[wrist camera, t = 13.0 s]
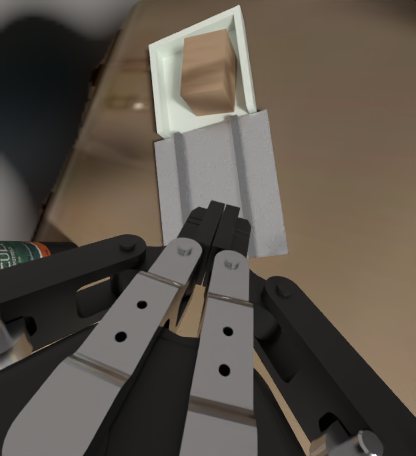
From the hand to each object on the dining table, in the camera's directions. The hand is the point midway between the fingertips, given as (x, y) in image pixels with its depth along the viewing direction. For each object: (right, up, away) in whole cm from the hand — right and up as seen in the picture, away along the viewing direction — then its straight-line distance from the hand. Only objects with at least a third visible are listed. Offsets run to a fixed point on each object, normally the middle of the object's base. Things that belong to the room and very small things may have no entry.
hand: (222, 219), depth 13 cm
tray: (-1, +22, +28) cm, 36 cm away
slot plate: (+1, +5, +26) cm, 26 cm away
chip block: (-1, +17, +23) cm, 29 cm away
